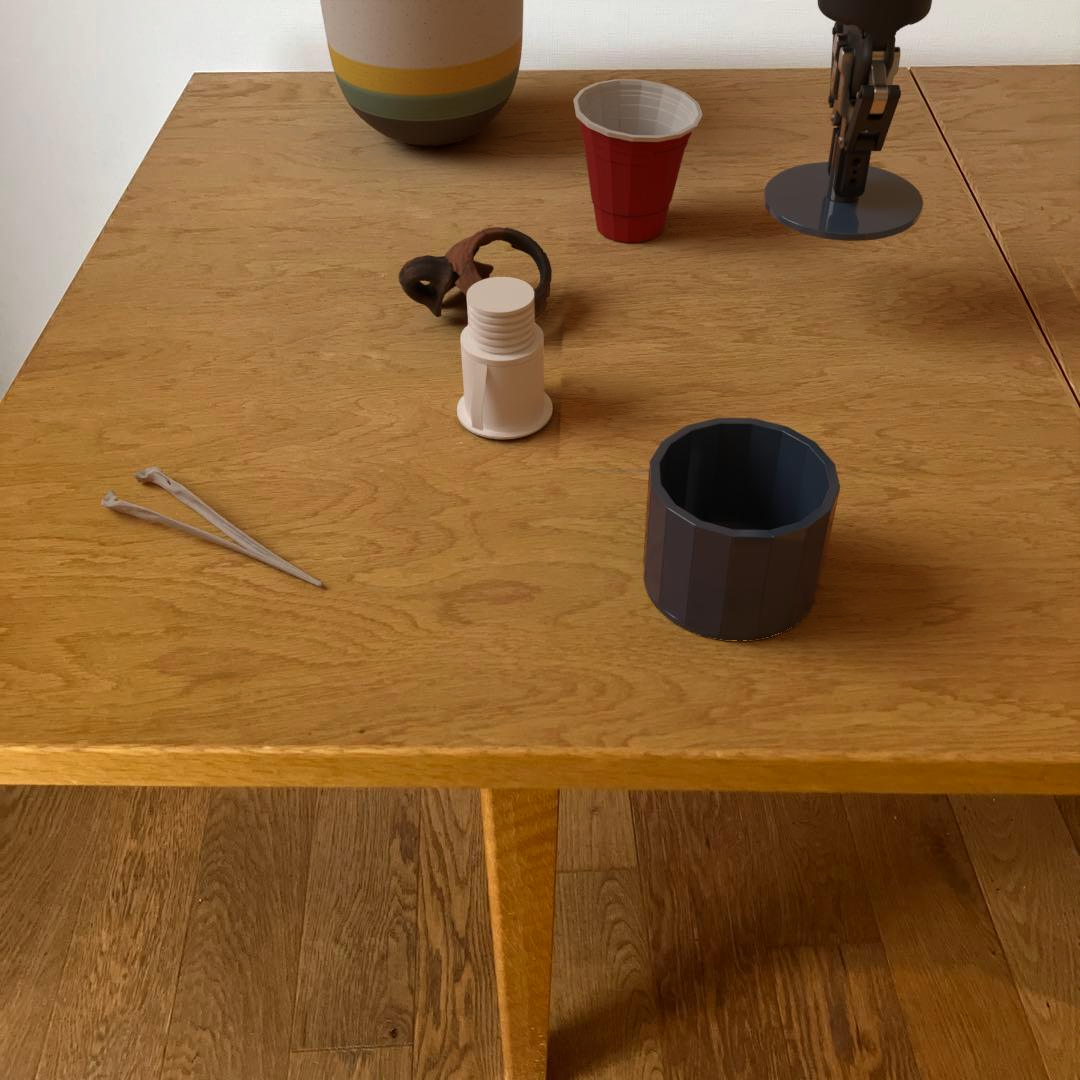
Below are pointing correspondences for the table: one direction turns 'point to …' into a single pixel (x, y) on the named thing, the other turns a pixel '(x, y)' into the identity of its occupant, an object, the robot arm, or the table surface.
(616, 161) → the plastic cup
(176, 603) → the table surface
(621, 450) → the table surface
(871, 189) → the lid
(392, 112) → the planter
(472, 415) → the downlight
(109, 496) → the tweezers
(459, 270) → the brown curved piece
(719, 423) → the tin
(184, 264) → the table surface
